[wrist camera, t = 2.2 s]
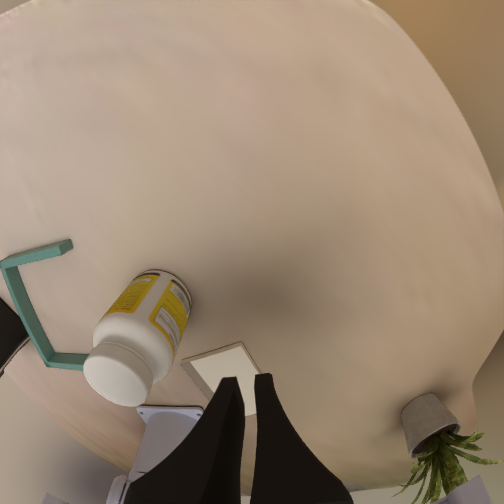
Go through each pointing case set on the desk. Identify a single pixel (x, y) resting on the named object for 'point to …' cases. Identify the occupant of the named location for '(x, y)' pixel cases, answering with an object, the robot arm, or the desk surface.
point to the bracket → (27, 310)
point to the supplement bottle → (138, 338)
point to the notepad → (224, 372)
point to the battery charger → (10, 335)
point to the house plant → (436, 445)
